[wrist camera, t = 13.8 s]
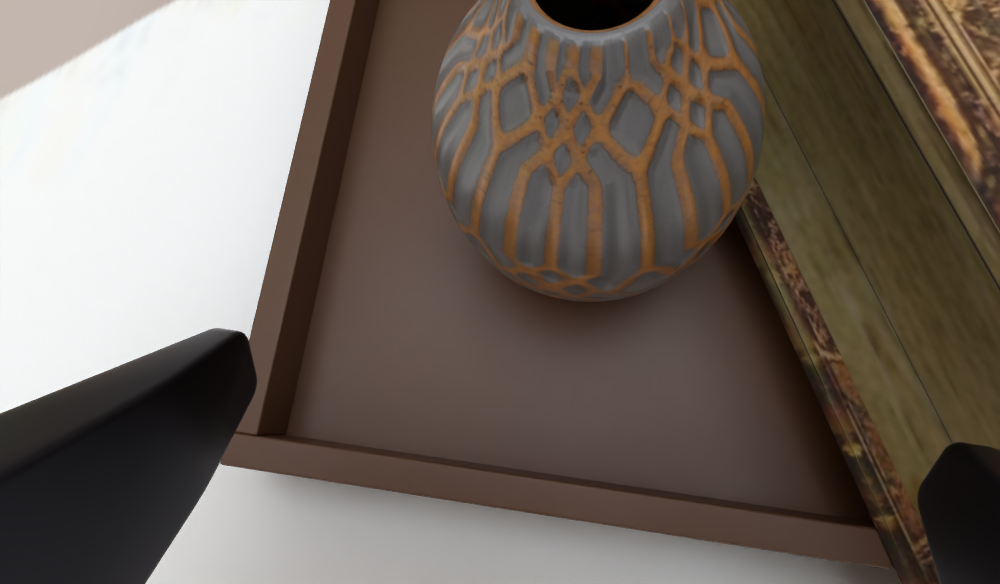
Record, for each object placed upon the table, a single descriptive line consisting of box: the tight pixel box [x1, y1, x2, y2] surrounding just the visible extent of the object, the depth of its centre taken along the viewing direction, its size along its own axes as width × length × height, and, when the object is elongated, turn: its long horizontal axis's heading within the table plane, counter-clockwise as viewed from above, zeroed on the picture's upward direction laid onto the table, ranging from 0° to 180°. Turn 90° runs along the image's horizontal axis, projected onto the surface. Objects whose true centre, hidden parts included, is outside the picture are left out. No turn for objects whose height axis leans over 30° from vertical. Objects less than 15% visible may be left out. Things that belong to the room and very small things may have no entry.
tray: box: [221, 0, 895, 570], centre depth 16 cm, size 18×17×3 cm
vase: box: [432, 0, 765, 302], centre depth 12 cm, size 7×7×9 cm
